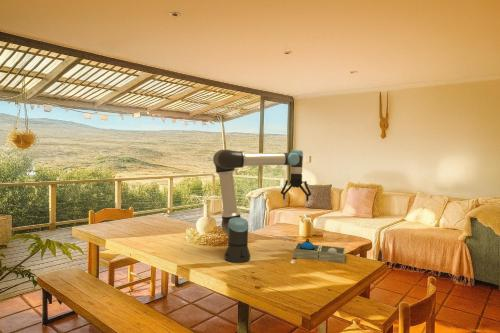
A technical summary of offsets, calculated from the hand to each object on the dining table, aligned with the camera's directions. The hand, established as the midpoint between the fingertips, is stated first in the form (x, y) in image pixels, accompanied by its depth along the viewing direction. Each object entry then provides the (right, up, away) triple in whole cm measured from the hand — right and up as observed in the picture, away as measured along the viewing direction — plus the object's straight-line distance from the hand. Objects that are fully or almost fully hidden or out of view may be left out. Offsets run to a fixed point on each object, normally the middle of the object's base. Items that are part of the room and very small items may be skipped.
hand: (295, 205), depth 222 cm
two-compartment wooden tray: (+12, -30, -19) cm, 37 cm away
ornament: (+5, -29, -17) cm, 34 cm away
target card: (-2, -30, -29) cm, 41 cm away
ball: (+19, -29, -22) cm, 41 cm away
